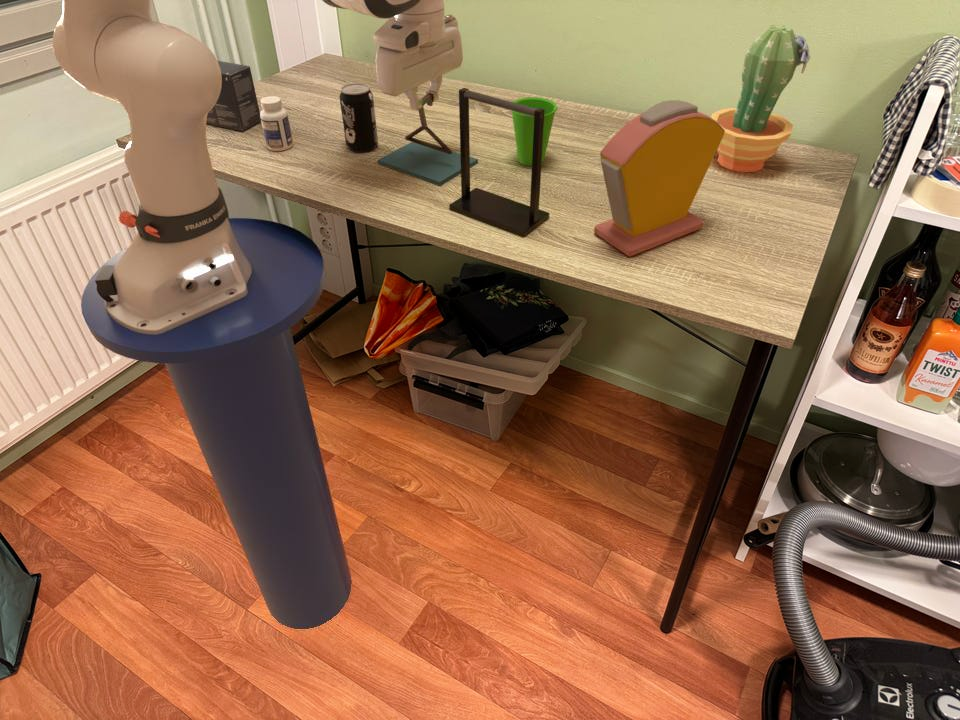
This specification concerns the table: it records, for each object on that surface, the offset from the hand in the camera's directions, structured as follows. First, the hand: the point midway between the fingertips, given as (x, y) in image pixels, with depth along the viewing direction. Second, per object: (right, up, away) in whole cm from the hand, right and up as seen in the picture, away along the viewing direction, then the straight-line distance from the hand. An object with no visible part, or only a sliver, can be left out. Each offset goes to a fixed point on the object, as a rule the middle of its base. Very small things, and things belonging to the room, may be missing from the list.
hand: (424, 104), depth 127 cm
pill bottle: (-31, -4, +14) cm, 34 cm away
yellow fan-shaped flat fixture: (+39, -26, -12) cm, 49 cm away
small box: (-45, +5, +24) cm, 51 cm away
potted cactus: (+62, -9, +8) cm, 63 cm away
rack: (+14, -22, -7) cm, 27 cm away
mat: (0, -9, +8) cm, 12 cm away
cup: (+21, -8, +8) cm, 24 cm away
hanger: (+1, -2, +3) cm, 4 cm away
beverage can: (-14, -4, +14) cm, 20 cm away
